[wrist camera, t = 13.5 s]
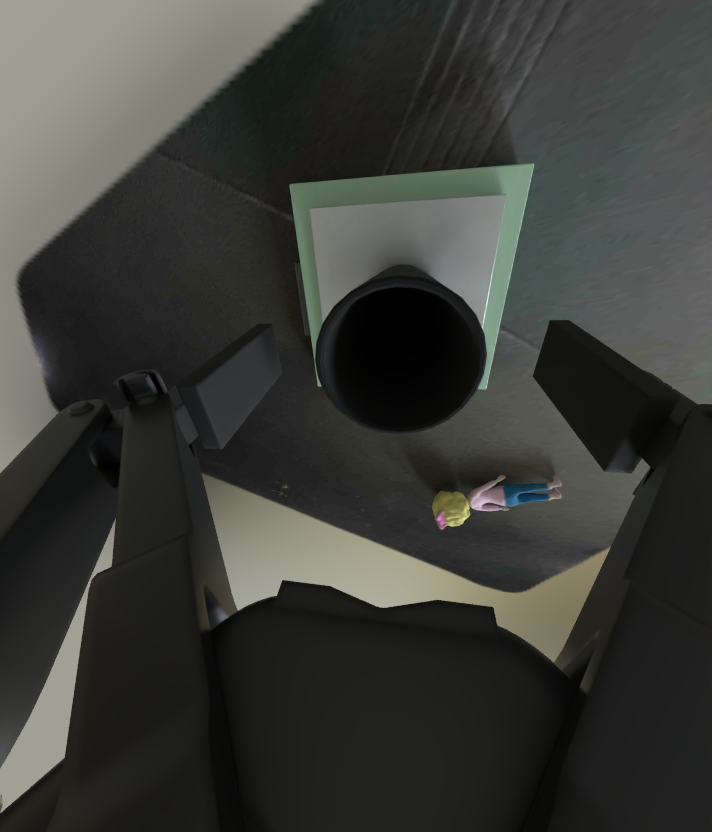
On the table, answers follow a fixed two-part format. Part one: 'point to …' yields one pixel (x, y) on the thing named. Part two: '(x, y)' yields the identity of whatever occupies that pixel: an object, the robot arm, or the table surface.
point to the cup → (400, 352)
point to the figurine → (488, 499)
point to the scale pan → (409, 244)
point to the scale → (414, 188)
